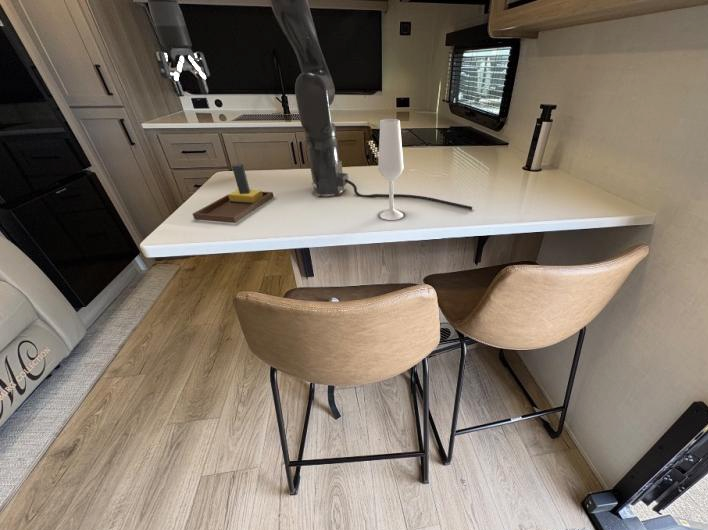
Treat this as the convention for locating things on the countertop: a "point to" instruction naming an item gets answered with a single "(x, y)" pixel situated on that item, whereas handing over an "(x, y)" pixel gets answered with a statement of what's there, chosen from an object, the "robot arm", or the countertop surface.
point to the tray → (229, 209)
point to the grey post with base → (243, 188)
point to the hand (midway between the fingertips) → (193, 95)
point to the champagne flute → (390, 160)
